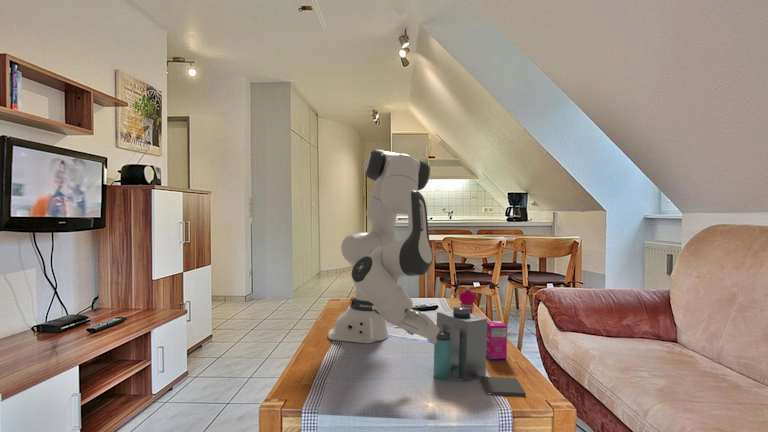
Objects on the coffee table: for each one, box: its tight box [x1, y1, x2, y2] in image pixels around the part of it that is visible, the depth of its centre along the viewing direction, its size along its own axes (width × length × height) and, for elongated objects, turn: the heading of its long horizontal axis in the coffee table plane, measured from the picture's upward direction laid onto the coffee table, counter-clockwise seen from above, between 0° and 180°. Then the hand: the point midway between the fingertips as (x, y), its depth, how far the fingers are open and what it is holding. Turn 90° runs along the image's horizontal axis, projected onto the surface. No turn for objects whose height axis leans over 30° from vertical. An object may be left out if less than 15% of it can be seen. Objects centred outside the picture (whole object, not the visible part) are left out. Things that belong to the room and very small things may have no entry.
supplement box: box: [486, 320, 508, 361], centre depth 145 cm, size 6×6×12 cm
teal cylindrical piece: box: [433, 332, 452, 381], centre depth 127 cm, size 5×5×12 cm
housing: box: [436, 306, 488, 382], centre depth 131 cm, size 8×13×19 cm, turn 34°
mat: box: [480, 376, 526, 397], centre depth 121 cm, size 10×10×1 cm
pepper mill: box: [458, 285, 477, 314], centre depth 163 cm, size 7×7×20 cm
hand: (423, 337), depth 123 cm, fingers open, 8 cm apart
